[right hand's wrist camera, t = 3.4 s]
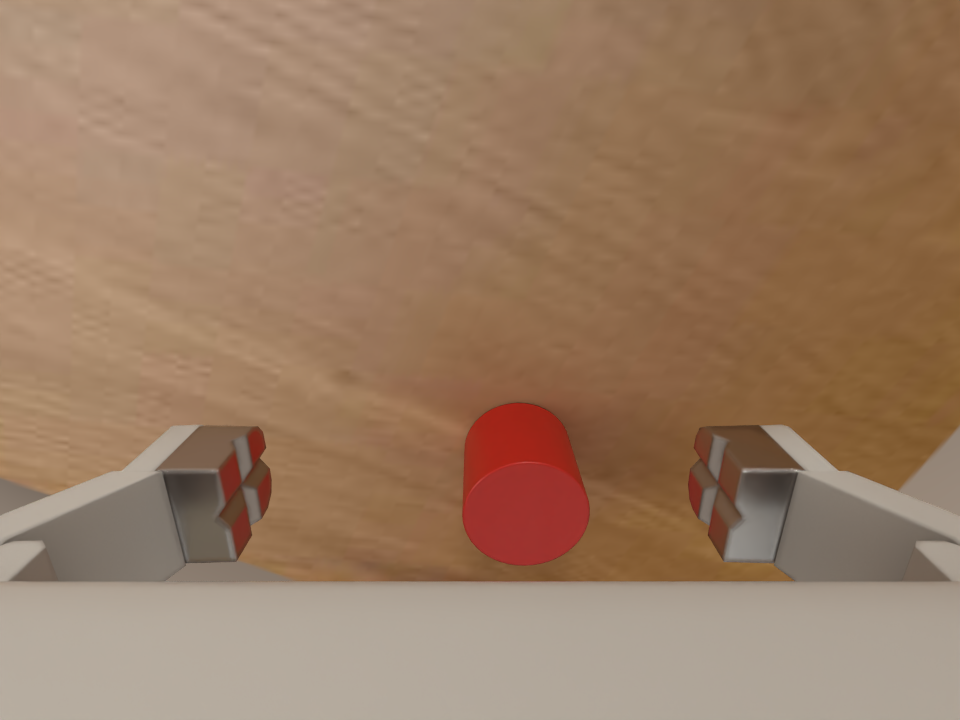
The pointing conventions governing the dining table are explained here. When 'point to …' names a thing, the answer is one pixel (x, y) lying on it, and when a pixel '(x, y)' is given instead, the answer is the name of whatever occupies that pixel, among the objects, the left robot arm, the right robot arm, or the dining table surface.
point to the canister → (522, 486)
